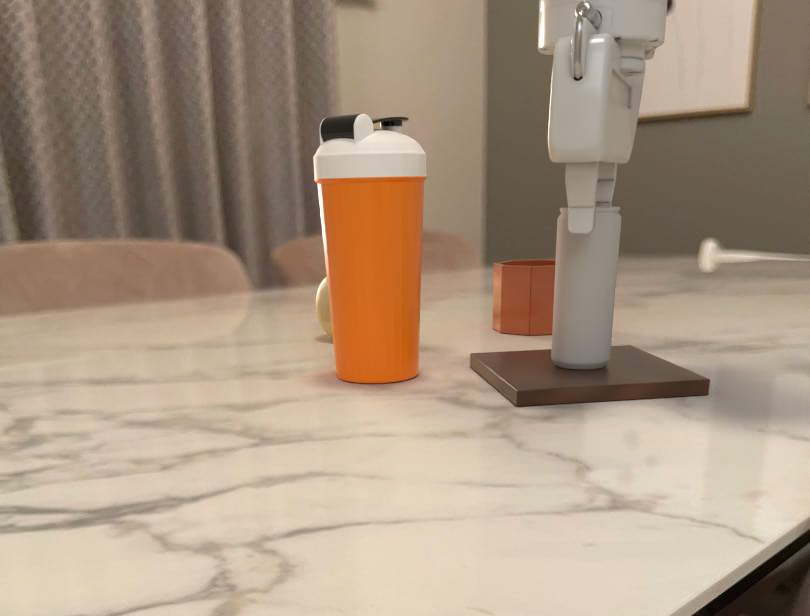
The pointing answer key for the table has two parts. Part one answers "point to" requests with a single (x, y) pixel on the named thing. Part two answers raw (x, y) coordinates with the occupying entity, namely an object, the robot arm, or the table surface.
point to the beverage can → (585, 291)
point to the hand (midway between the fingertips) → (590, 229)
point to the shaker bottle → (372, 244)
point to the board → (585, 377)
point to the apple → (324, 307)
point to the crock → (524, 296)
